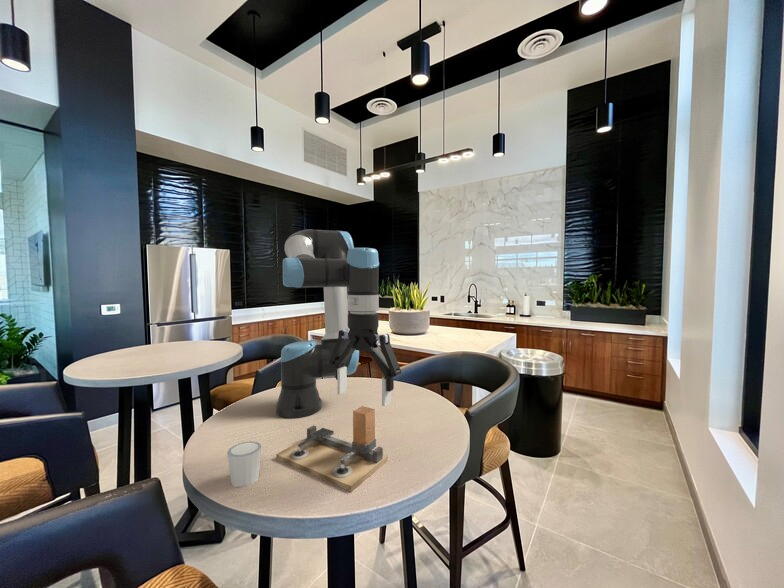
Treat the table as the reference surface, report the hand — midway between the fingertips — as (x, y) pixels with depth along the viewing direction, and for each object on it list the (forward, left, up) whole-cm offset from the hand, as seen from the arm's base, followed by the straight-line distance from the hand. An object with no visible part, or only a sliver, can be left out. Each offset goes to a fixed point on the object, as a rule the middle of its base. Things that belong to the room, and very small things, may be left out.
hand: (363, 398), depth 78 cm
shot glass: (-18, -20, -16) cm, 31 cm away
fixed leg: (-14, -3, -14) cm, 20 cm away
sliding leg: (0, -3, -14) cm, 14 cm away
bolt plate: (-7, -4, -15) cm, 17 cm away
